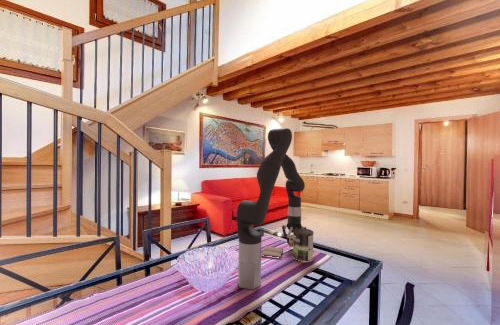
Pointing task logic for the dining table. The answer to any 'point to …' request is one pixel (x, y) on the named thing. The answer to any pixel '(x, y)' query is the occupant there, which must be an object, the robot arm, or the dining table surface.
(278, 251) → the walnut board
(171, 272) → the dining table surface
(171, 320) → the dining table surface
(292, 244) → the letter cube
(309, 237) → the coffee can
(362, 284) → the dining table surface
